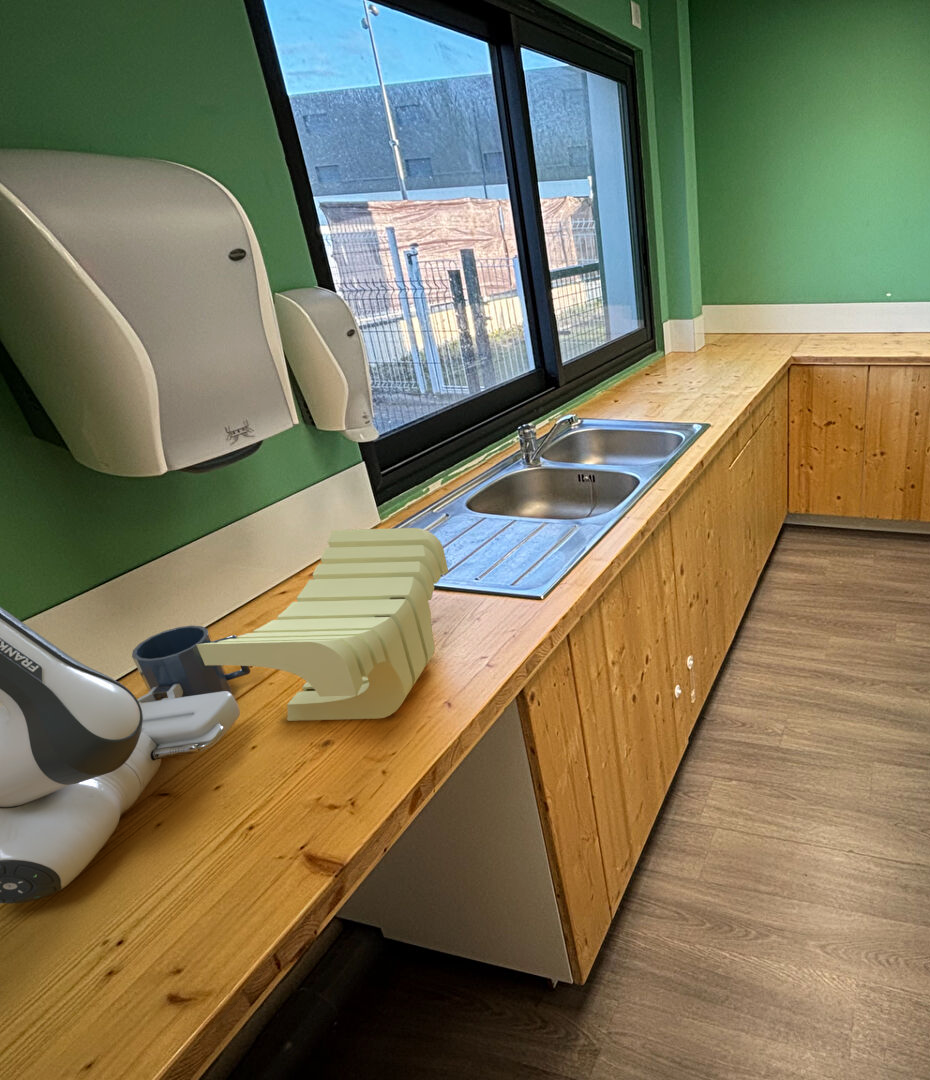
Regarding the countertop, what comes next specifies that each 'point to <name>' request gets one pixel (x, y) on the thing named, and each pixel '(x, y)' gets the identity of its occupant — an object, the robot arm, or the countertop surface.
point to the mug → (182, 662)
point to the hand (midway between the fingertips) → (169, 689)
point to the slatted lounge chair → (351, 626)
